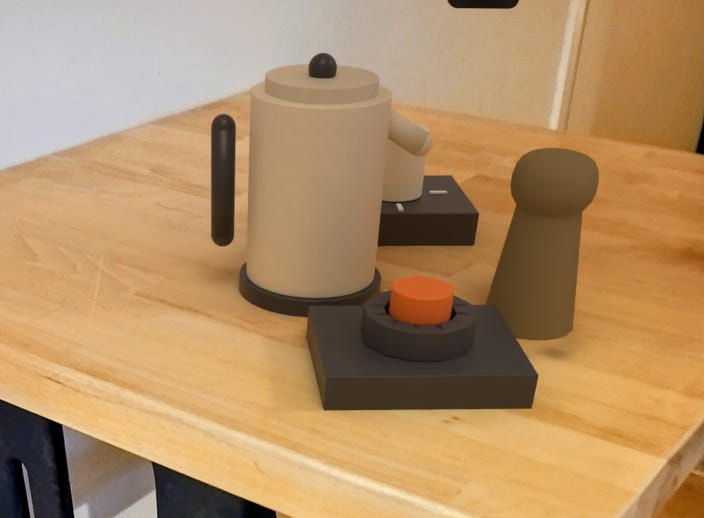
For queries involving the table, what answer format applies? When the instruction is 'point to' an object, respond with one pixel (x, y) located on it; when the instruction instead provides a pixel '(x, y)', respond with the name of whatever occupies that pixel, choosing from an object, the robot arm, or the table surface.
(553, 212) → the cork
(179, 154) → the table surface
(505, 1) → the robot arm
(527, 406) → the switch block
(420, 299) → the power button
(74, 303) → the table surface
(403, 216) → the panel
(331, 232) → the kettle
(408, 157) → the knob
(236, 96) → the table surface
